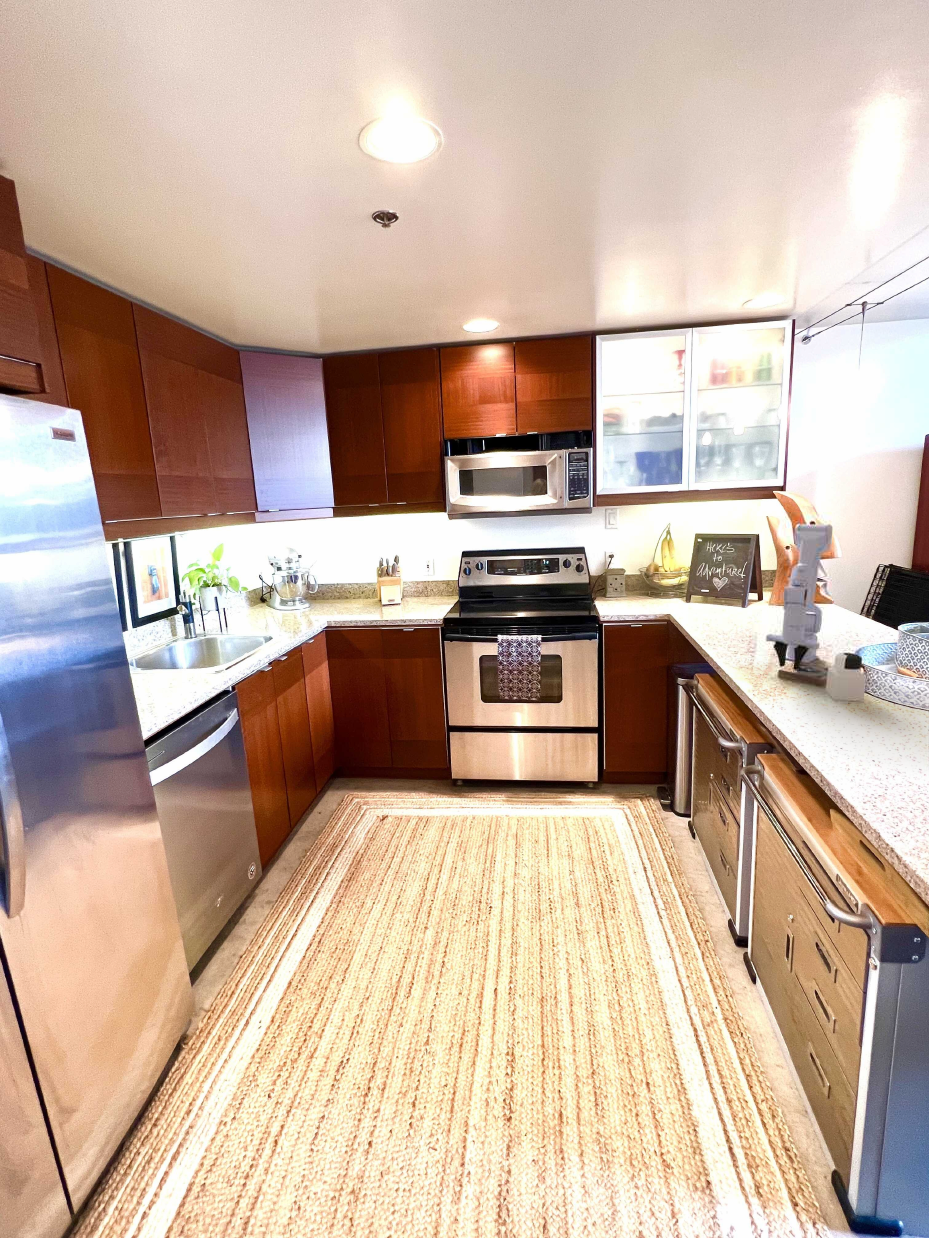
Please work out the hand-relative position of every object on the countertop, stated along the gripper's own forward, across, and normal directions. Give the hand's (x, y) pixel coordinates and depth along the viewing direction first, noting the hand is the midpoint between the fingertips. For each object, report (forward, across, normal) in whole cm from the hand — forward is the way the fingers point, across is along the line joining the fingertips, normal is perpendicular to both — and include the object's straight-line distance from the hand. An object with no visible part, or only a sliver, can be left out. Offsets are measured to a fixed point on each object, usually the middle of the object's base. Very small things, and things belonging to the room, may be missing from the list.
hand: (789, 667), depth 178 cm
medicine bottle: (+2, +18, -10) cm, 21 cm away
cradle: (+2, +5, 0) cm, 6 cm away
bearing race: (+2, +6, 0) cm, 7 cm away
